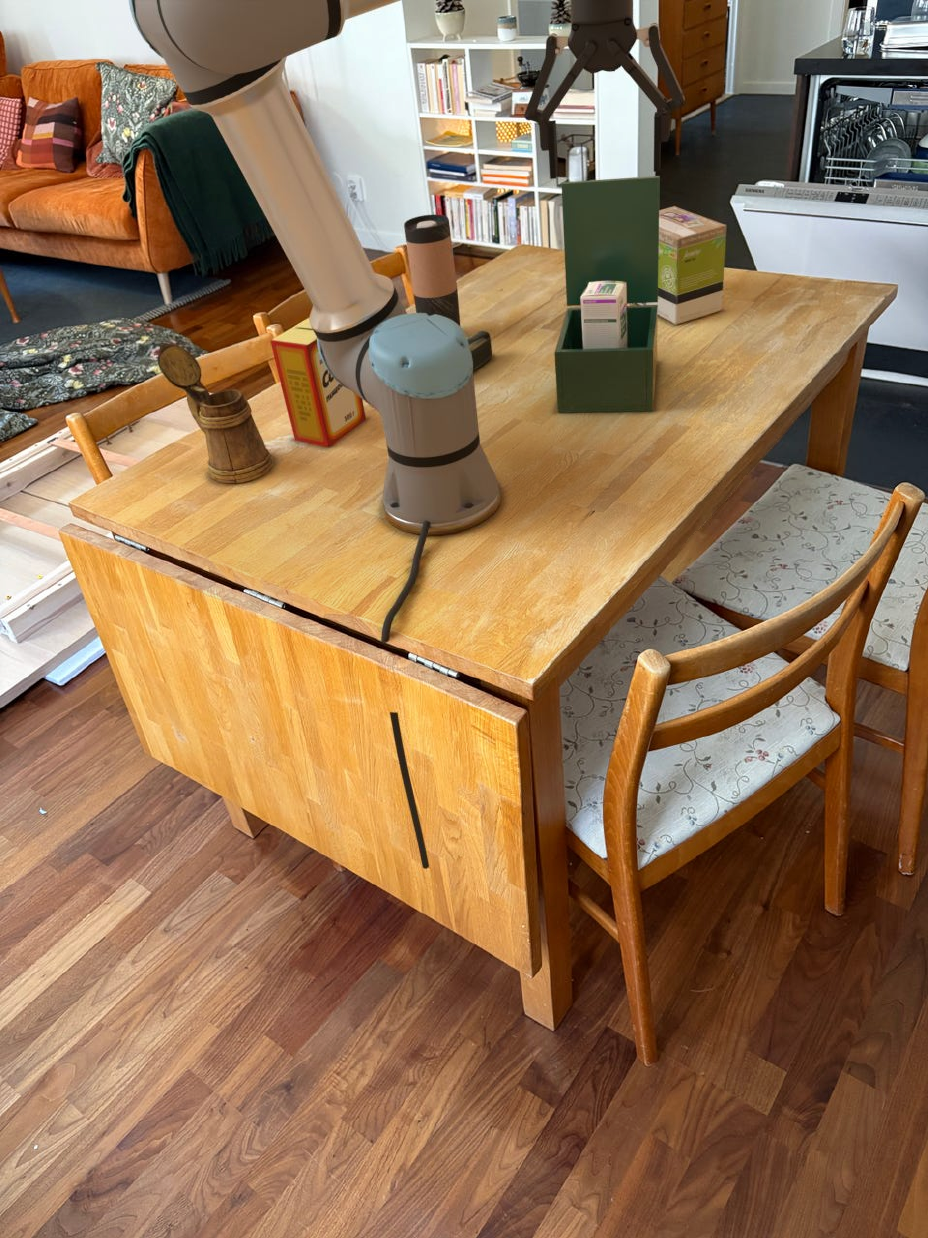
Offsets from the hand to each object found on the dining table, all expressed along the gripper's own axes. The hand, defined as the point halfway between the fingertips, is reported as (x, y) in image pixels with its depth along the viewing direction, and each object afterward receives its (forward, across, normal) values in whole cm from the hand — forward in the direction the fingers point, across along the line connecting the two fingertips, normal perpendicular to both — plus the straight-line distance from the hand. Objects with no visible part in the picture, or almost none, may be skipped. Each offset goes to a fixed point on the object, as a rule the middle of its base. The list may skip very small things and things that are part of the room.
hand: (604, 172), depth 127 cm
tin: (+31, 0, 0) cm, 31 cm away
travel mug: (+31, +31, -21) cm, 49 cm away
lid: (+12, 0, -8) cm, 14 cm away
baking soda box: (+31, +41, +13) cm, 53 cm away
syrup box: (+30, 0, 0) cm, 30 cm away
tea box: (+31, -9, -32) cm, 45 cm away
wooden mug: (+31, +53, +24) cm, 66 cm away
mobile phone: (+31, +24, -6) cm, 40 cm away
